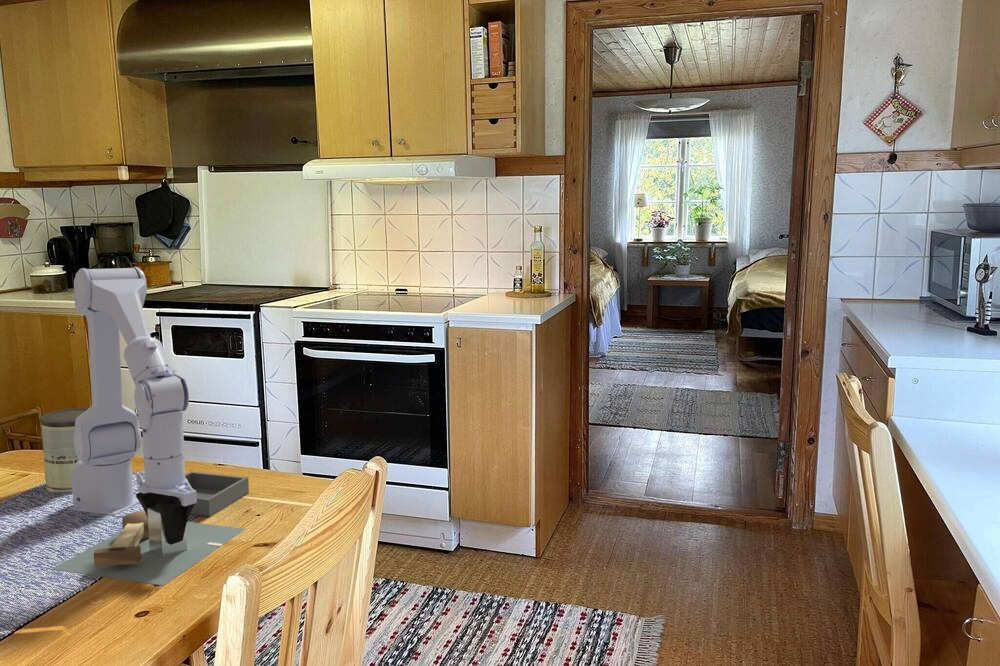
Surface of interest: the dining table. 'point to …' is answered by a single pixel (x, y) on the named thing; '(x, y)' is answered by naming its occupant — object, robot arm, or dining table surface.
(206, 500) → the tray
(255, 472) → the dining table surface
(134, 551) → the crank lever
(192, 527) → the crank board
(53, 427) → the coffee can
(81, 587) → the dining table surface
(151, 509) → the block
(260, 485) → the dining table surface
